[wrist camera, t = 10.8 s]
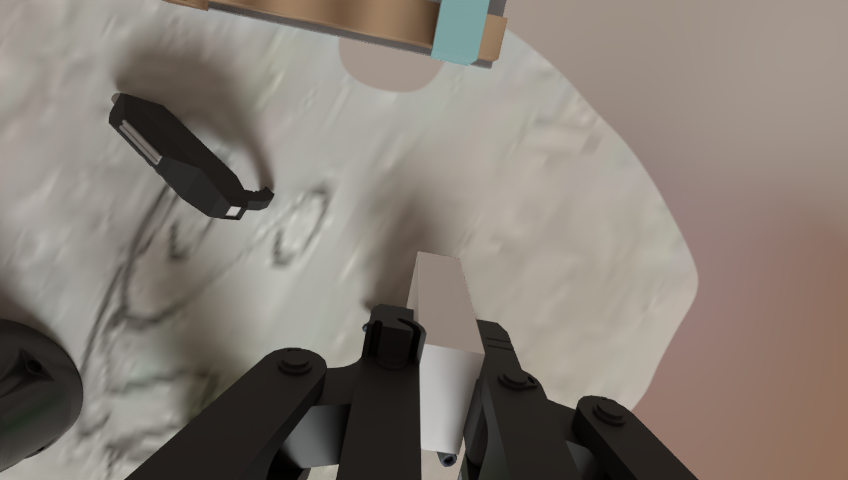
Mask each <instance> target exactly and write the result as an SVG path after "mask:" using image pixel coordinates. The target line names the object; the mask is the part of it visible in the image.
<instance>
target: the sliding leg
mask: <svg viewBox="0 0 848 480" xmlns="http://www.w3.org/2000/svg"><path fill="white" fill-rule="evenodd" d="M489 1H490V0H441V2H440V7H439V13H438V18H437V23H436V29H435V34H434V39H433V44H432V50H431V55H430V58H434V59H438V60H442V61H447V62H452V63H457V64H461V65H466V66H468V65H470V64H471V63H473V62H474V61H476V60H477V57H478V53H479V48H480V43H481V39H482V34H483V29H484V25H485V20H486V15H487V11H488V6H489Z"/></svg>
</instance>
